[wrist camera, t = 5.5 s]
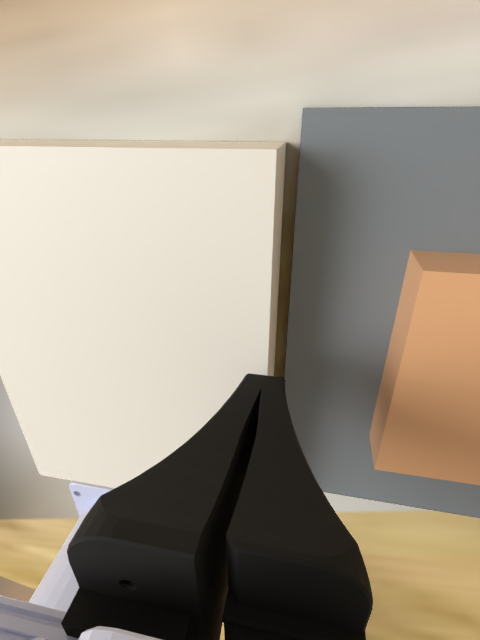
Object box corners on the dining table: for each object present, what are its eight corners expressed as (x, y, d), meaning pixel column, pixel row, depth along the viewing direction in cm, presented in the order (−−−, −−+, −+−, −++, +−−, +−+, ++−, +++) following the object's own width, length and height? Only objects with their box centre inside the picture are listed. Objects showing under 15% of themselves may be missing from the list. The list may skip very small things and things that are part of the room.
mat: (515, 517, 19) (518, 524, 18) (277, 477, 21) (276, 484, 20) (755, 105, 10) (770, 104, 10) (303, 107, 12) (302, 108, 12)
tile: (374, 469, 16) (369, 434, 17) (532, 493, 15) (510, 453, 16) (423, 270, 11) (410, 250, 13) (653, 284, 10) (605, 260, 12)
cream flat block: (269, 464, 20) (261, 515, 18) (72, 433, 22) (39, 474, 20) (286, 142, 13) (276, 149, 10) (-19, 139, 15) (-92, 144, 12)
